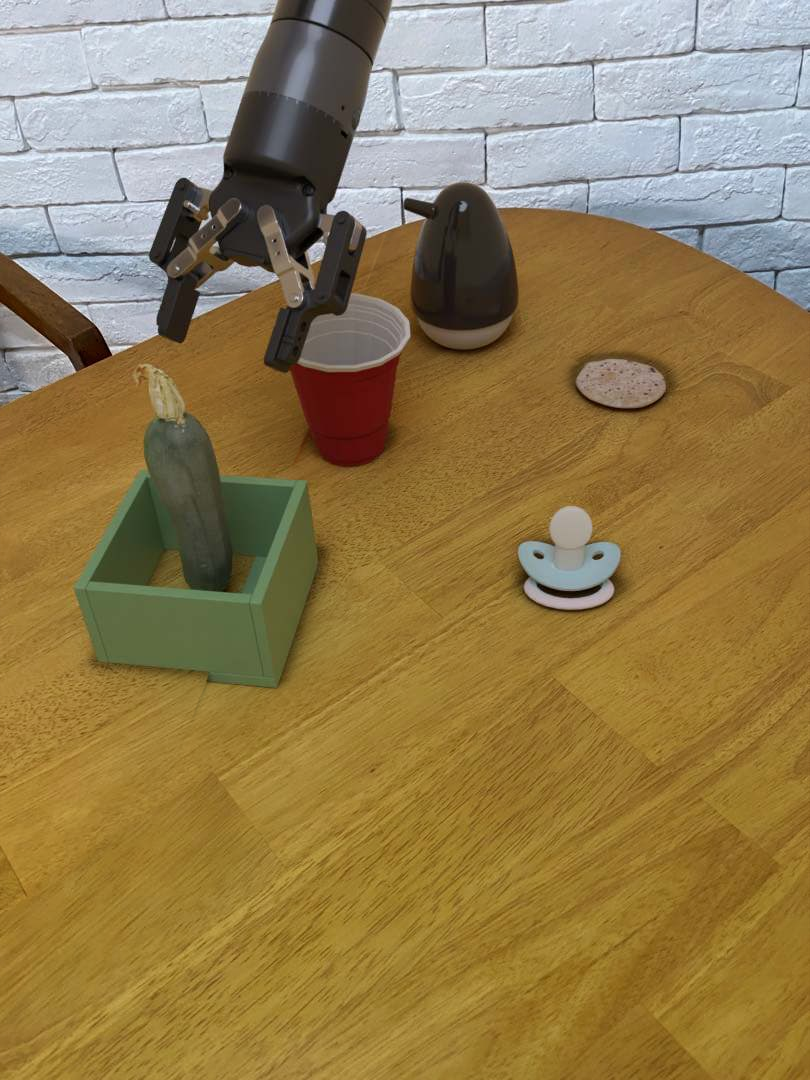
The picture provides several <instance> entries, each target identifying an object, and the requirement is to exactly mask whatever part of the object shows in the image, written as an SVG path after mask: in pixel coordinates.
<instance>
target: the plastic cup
mask: <svg viewBox="0 0 810 1080" xmlns="http://www.w3.org/2000/svg"><path fill="white" fill-rule="evenodd" d="M275 322H276V320H275V321H274V323H275ZM410 338H411V327H410V320H409V319H408V318H407V317H406V316H405V314H404V313H403V312H402V311H401V310H400V308H399V307H397V306H395V305H393V304H391V303H389V302H387V301H386V300H383V299H381V298H379V297H375V296H370V295H365V294H361V293H356V292H351V295H350V299H349V302H348V306H347V309H346V311H345V312H344V313H343V314H342V315H339V316H336V315H334V314H325V315H320V316H317V317H316V318H315V319H314V320H313V321H312V323H311V325H310V329H309V332H308V335H307V338H306V341H305V344H304V347H303V350H302V353H301V356H300V359H299V361H298V362H297V363H296V365H295V366H292V365H291V367H290V370H289V372H290V374H291V378H292V381H293V384H294V387H295V390H296V394H297V396H298V399H299V402H300V406H301V408H302V411H303V415H304V419H305V421H306V423H307V425H308V427H309V429H310V433H311V436H312V439H313V442H314V446H315V447H316V449H317V451H318V453H319V455H320V456H321V457H322V459H323V460H324V461H325V462H327V463H329V464H331V465H333V466H339V467H343V468H344V467H345V468H349V467H360V466H363V465H366V464H369V463H371V462H373V461H375V460H376V459H377V458H379V457H380V456H381V455H382V453H383V452H384V450H385V446H386V443H387V440H388V439H387V438H388V432H389V431H388V429H389V420H390V418H391V414H392V406H393V399H394V393H395V384H396V377H397V369H398V366H399V363H400V359H401V356H402V354H403V350H404V348H405V347H406V345H407V344H408V343H409V340H410Z"/></svg>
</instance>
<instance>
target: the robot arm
mask: <svg viewBox="0 0 810 1080" xmlns="http://www.w3.org/2000/svg"><path fill="white" fill-rule="evenodd" d="M276 1H277V2H276V5H275V8H274V11H273V15H272V17H271V19H270V23H269V27H268V29H267V31H266V34H265V36H264V38H263V40H262V43H261V44H260V46H259V49H258V50H257V53H256V54H255V57H254V61H253V62H252V66H251V69H250V72H249V75H248V78H247V81H246V84H245V87H244V91H243V93H242V97H241V99H240V102H239V106H238V108H237V112H236V115H235V118H234V121H233V124H232V126H231V129H230V133H229V135H228V136H229V137H228V139H227V142H226V145H225V148H224V151H223V156H222V162H223V174H222V178H221V179H220V181H219V183H218V184H217V185H216V187H215V188H214V189H213V190H212V189H209V188H208V189H207V188H205V187H201V186H198V185H196V184H195V183H194V182H193V181H191V180H190V179H189V178H187V177H181V178H179V179H177V181H176V182H175V184H174V187H173V189H172V192H171V195H170V196H169V199H168V203H167V205H166V208H165V210H164V213H163V215H162V218H161V221H160V223H159V226H158V228H157V231H156V233H155V236H154V239H153V242H152V245H151V247H150V249H149V252H148V259H149V261H150V262H151V263H153V264H154V265H156V266H157V267H159V269H161V270H162V271H164V273H165V274H166V275H167V284H166V285H165V286H166V287H165V289H164V292H163V297H162V299H161V303H160V305H159V309H158V311H157V314H156V323H155V324H156V326H157V334H158V335H159V336H160V337H162V338H165V339H166V340H169V341H171V342H174V343H178V344H182V343H184V342H185V340H186V337H187V334H188V332H189V328H190V325H191V322H192V320H193V316H194V313H195V310H196V307H197V304H198V301H199V298H200V294H201V291H199V290H198V289H199V288H200V287H202V285H203V284H205V283H206V282H208V281H209V279H210V278H212V277H213V276H214V275H215V274H217V273H218V272H225V271H226V270H228V269H229V268H231V266H232V265H233V264H234V263H236V264H237V265H238V266H243V267H247V268H256V267H260V268H261V269H263V270H265V271H267V272H268V273H271V274H275V275H276V276H277V278H278V279H279V282H280V283H279V284H280V286H281V289H282V290H281V291H282V293H283V296H284V300H285V303H286V308H285V307H279V311H278V313H277V317H276V320H275V321H276V322H275V321H274V325H273V329H272V330H271V331H272V332H271V334H270V338H269V341H268V343H267V348H266V350H265V353H264V356H263V364H264V366H265V367H268V368H269V369H272V370H273V371H275V372H279V373H282V374H287V373H289V372H290V367H291V365H292V366H295V365H296V363H297V362H298V361H299V359H300V356H301V353H302V350H303V347H304V344H305V341H306V338H307V335H308V332H309V329H310V325H311V323H312V321H313V320H314V319H315V318H316V317H317V316H320V315H325V314H334V315H336V316H339V315H342V314H343V313H344V312H345V311H346V309H347V306H348V302H349V299H350V295H351V293H352V291H353V288H354V283H355V280H356V276H357V272H358V269H359V264H360V261H361V258H362V254H363V250H364V246H365V242H366V239H367V235H368V231H367V228H366V227H365V226H364V225H363V224H362V223H361V222H360V221H359V220H358V219H357V218H356V217H355V216H353V215H352V214H351V213H349V212H348V211H346V210H339V211H338V212H336V213H335V214H330V213H329V214H328V205H329V204H330V203H331V202H332V201H333V200H334V198H335V196H336V194H337V190H338V187H339V184H340V181H341V178H342V175H343V172H344V169H345V166H346V162H347V160H348V157H349V153H350V151H351V147H352V144H353V141H354V138H355V135H356V132H357V129H358V127H359V124H360V121H361V116H362V114H363V111H364V108H365V103H366V100H367V96H368V91H369V84H370V78H371V75H372V71H373V66H374V64H375V61H376V57H377V54H378V51H379V49H380V45H381V42H382V40H383V36H384V34H385V30H386V28H387V24H388V21H389V18H390V14H391V11H392V6H393V1H394V0H276ZM209 213H210V215H209ZM210 216H211V219H210V220H209V217H210ZM203 221H207V222H206V223H205V224H204V225H203V226H202V227H201V225H202V222H203ZM321 238H322V242H323V244H324V246H325V248H324V251H323V255H322V259H321V263H320V266H319V269H318V274H317V276H316V277H317V278H316V277H315V274H314V271H313V267H312V264H311V260H310V257H309V253H308V250H310V248H311V247H313V246H314V245H315V244H316V243H317V242H318V241H319V240H321ZM216 243H217V244H218V247H214V245H215V244H216Z"/></svg>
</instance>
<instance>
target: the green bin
mask: <svg viewBox="0 0 810 1080" xmlns="http://www.w3.org/2000/svg"><path fill="white" fill-rule="evenodd" d="M219 475H220V481H221V489H222V494H223V498H224V502H225V510H226V517H227V523H228V528H229V533H230V538H231V543H232V549H233V555H237V556H250V557H254V560H253V562H252V565H251V568H250V569H249V573H248V575H247V577H246V580H245V582H244V585H243V587H242V590H241V593H238V592H226V591H225V592H224V591H221V592H216V591H203V590H192V589H191V588H190V589H189V588H179V587H166V586H155V585H154V586H153V585H148V584H149V582H150V579H151V578H152V576H153V574H154V571H155V569H156V567H157V565H158V563H159V561H160V559H161V557H162V555H163V553H164V551H165V550H171V551H179V546H178V538H177V534H176V531H175V528H174V525H173V522H172V519H171V517H170V515H169V513H168V512H167V510H166V508H165V507H164V505H163V503H162V501H161V500H160V498H159V495H158V493H157V490H156V488H155V486H154V483H153V481H152V479H151V477H150V474H149V471H148V469H139V470H138V472H137V474H136V476H135V477H134V479H133V481H132V482H131V484H130V487H129V488H128V490H127V492H126V494H125V495H124V497H123V499H122V500H121V503H120V504H119V506H118V508H117V509H116V512H115V513H114V515H113V517H112V518H111V520H110V522H109V524H108V525H107V527H106V528H105V529H106V530H105V531H104V533H103V534H102V536H101V538H100V540H99V542H98V544H97V545H96V546H95V549H94V551H93V553H92V554H91V556H90V558H89V560H88V561H87V563H86V565H85V567H84V568H83V570H82V572H81V574H80V576H79V578H78V579H77V581H76V582H75V585H74V586H73V591H74V594H75V597H76V600H77V604H78V606H79V609H80V612H81V614H82V617H83V620H84V623H85V626H86V630H87V634H88V636H89V639H90V640H91V644H92V647H93V650H94V653H95V657H96V659H97V662H99V663H110V664H121V665H129V666H130V665H131V666H142V667H153V668H163V669H173V670H185V671H195V672H196V671H197V672H206V673H208V675H207V678H206V682H210V683H219V684H229V685H230V684H231V685H240V686H250V687H251V686H253V687H260V688H262V687H263V688H271V689H272V688H273V689H278V686H279V684H280V680H281V677H282V674H283V671H284V668H285V666H286V662H287V660H288V657H289V654H290V651H291V647H292V644H293V641H294V638H295V635H296V632H297V629H298V627H299V624H300V621H301V617H302V615H303V611H304V608H305V606H306V603H307V600H308V597H309V594H310V590H311V587H312V584H313V582H314V578H315V576H316V573H317V569H318V567H319V557H318V556H319V555H318V549H317V541H316V536H315V535H316V534H315V527H314V518H313V513H312V512H313V511H312V506H311V505H312V504H311V497H310V491H309V484H308V480H303V479H288V478H275V477H257V476H243V475H240V476H239V475H228V474H227V475H225V474H219Z"/></svg>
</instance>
